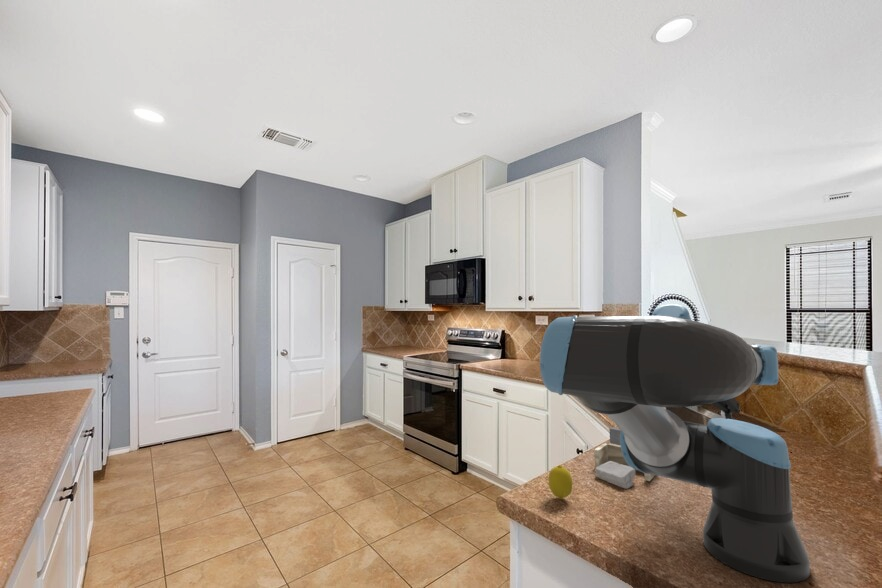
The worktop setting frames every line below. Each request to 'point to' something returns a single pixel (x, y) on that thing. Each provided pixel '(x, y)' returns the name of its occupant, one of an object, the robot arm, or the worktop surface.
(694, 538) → the worktop surface
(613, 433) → the wall
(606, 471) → the grey stone block
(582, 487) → the worktop surface
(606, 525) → the worktop surface
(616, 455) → the cradle
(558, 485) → the lemon
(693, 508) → the worktop surface
